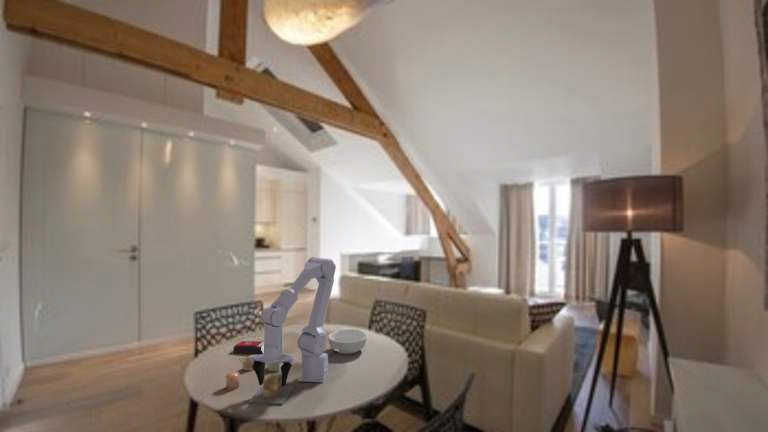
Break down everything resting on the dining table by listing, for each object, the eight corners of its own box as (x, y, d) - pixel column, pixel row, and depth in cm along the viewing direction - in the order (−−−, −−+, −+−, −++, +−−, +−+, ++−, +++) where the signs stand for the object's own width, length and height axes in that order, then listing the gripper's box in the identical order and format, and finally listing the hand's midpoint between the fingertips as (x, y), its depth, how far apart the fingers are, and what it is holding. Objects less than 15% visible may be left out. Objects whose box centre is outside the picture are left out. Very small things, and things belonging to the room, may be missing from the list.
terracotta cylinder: (241, 384, 121) (241, 372, 121) (235, 390, 117) (235, 377, 117) (230, 384, 122) (230, 371, 122) (224, 389, 118) (224, 376, 118)
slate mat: (294, 388, 119) (294, 386, 119) (282, 405, 108) (282, 403, 108) (263, 386, 120) (263, 384, 120) (248, 403, 109) (248, 401, 109)
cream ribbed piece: (262, 368, 135) (262, 354, 135) (239, 373, 130) (240, 359, 130) (259, 364, 138) (259, 351, 139) (237, 369, 134) (237, 355, 134)
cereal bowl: (320, 352, 151) (320, 336, 151) (345, 341, 165) (345, 326, 165) (349, 362, 141) (350, 344, 141) (373, 349, 155) (374, 333, 155)
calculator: (246, 336, 161) (276, 337, 159) (246, 346, 161) (277, 346, 159) (232, 345, 150) (265, 345, 148) (233, 355, 150) (265, 355, 148)
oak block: (281, 390, 116) (281, 374, 116) (276, 397, 112) (276, 380, 112) (268, 389, 117) (269, 373, 117) (263, 396, 112) (263, 379, 112)
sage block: (283, 366, 137) (283, 355, 137) (279, 371, 132) (279, 359, 132) (272, 366, 137) (272, 355, 137) (268, 370, 133) (268, 359, 133)
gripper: (246, 347, 111) (245, 389, 111) (290, 348, 110) (289, 391, 110) (256, 339, 118) (255, 379, 118) (297, 341, 117) (297, 381, 117)
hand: (272, 384), depth 114 cm, fingers open, 7 cm apart
